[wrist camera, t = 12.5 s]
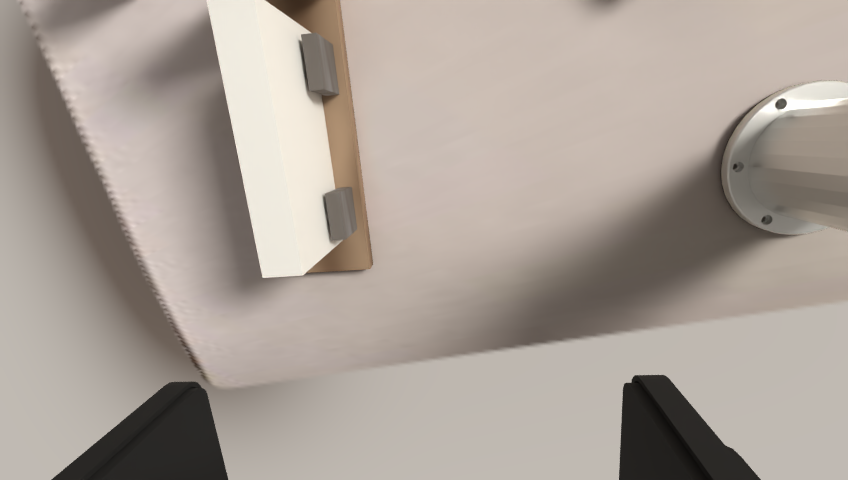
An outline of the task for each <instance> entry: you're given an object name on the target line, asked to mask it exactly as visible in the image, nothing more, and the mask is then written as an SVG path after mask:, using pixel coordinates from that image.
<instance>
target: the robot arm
mask: <svg viewBox="0 0 848 480" xmlns="http://www.w3.org/2000/svg"><path fill="white" fill-rule="evenodd" d="M733 165H734V167H733ZM721 177H722V186H723V189H724V193H725V196H726V198H727V200H728V202H729V204H730V205H731V207H732V208H733V210H734V211H735V212H736V213H737V214H738V215H739V216H740V217H741V218H742V219H744V220H745V221H747V222H748V223H749V224H751V225H753V226H756V227H758V228H760V229H763V230H766V231H770V232H774V233H777V234H786V235H800V234H809V233H813V232H818V231H822V230H824V229H827V228H829V227H831V228H835V229H840V230H844V231H848V82H843V81H838V80H820V81H813V82H806V83H801V84H798V85H794V86H791V87H787V88H785V89H783V90H781V91H779V92H776V93H774V94H772V95H771V96H769V97H768V98H766V99H765V100H763V101H762V102H760V103H759V104H757V105H756V106H755V107H754V108H753V109H752V110H751V111H750V112H749V113H748V114H747V115H746V116H745V117H744V118H743V119H742V121H741V122H740V123H739V124H738V126H737V127H736V128H735V130H734V132H733V134H732V136H731V137H730V139H729V141H728V143H727V146H726V149H725V152H724V155H723V160H722V168H721ZM621 426H622V427H621V448H620V449H621V450H620V470H619V480H761V479H760V478H759V477H758V476H757V475H756V474H755V473H754V471H753V470H752V469H751V468H750V467H749V466H748V464H747V463H746V462H745V461H744V460H743V459H742V457H741V456H739V455H738V453H736V452H735V451H734V450H733V449H732V448H730V447H727V446H725V445H724V444H723V443H722V441H721V440H720V439H719V438H718V436H717V435H716V434H715V433H714V432H713V431H712V429H711V428H710V427H709V426H708V425H707V423H706V422H705V421H704V420H703V419H702V418H701V416H700V415H699V414H698V413H697V412H696V410H695V409H694V408H693V407H692V406H691V404H690V403H689V402H688V401H687V400H686V398H685V397H684V396H683V395H682V394H681V392H680V391H679V390H678V389H677V388H676V387H675V385H674V384H673V383H672V382H671V381H670V379H669V378H668V377H666V376H664V375H635V376H634V377H633V379H632V383H625V384H624V387H623V403H622V425H621ZM52 480H228V477H227V473H226V469H225V465H224V461H223V456H222V453H221V448H220V444H219V441H218V436H217V432H216V429H215V424H214V420H213V416H212V412H211V408H210V404H209V400H208V396H207V393H206V391H205V390H204V389H203V388H201V386H200V385H199V384H198V383H197V382H171V383H168V384H167V385H165V386H164V387H163V388H161V389H160V390H159V391H158V392H157V393H156V394H154V395H153V396H152V397H151V398H149V399H148V400H147V401H146V402H145V403H143V404H142V405H141V406H140V407H139V408H137V409H136V410H135V411H134V412H133V413H131V414H130V415H129V416H128V417H126V419H124V420H123V421H122V422H120V424H118V425H117V426H116V427H114V428H113V429H112V430H111V431H110V432H108V433H107V434H106V435H105V436H104V437H102V438H101V439H100V440H99V441H98V442H96V443H95V444H94V445H93V446H91V447H90V448H89V449H88V450H87V451H86V452H84V453H83V454H82V455H81V456H79V457H78V458H77V459H76V460H75V461H73V462H72V463H71V464H70V465H69V466H67V467H66V468H65V469H64V470H63V471H61V472H60V473H59V474H58V475H57V476H55V477H54V478H53V479H52Z"/></svg>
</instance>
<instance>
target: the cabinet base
mask: <svg viewBox="0 0 848 480" xmlns="http://www.w3.org/2000/svg"><path fill="white" fill-rule="evenodd" d="M265 1H267V2H268V3H270V4H271V5H273V6H274V7H275V8H277V9H278V10H280V11H281V12H282V13H284V14H285V15H287V16H288V17H290V18H291V19H292V20H294V21H295V22H297V23H298V24H300V25H301V26H302V27H304V28H305V29H307V30H308V31H309V32H311V33H309V34H301V39H302V45H303V52H304V59H305V65H306V72H307V79H308V85H309V91H311V92H315V93H318V94H321V95H322V102H323V108H324V115H325V122H326V129H327V136H328V143H329V149H330V156H331V163H332V170H333V177H334V183H335V190H332V191H330V192H328V193H325V199H326V205H327V212H328V219H329V225H330V232H331V239H332V241H334V240H343V241H341V242H340V243H339V244H338V245H337V246H336V247H335V248H333V249H332V250H331V251H330V252H329V253H328V254H327V255H326V256H324V257H323V258H322V259H321V260H320V261H319V262H318V263H316V264H315V265H314V266H313V267H312V268H311V269H310V270H308V271H307V272H306V273H312V272H329V271H346V270H363V269H370V268H371V267H372V265H373V260H372V252H371V244H370V236H369V228H368V220H367V212H366V204H365V196H364V188H363V180H362V172H361V164H360V156H359V149H358V141H357V133H356V125H355V117H354V109H353V101H352V93H351V85H350V77H349V69H348V61H347V53H346V45H345V37H344V29H343V22H342V14H341V6H340V0H265Z"/></svg>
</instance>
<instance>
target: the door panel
mask: <svg viewBox="0 0 848 480" xmlns="http://www.w3.org/2000/svg"><path fill="white" fill-rule="evenodd" d="M207 5H208V10H209V15H210V20H211V25H212V30H213V35H214V40H215V45H216V50H217V55H218V59H219V64H220V69H221V74H222V79H223V84H224V89H225V94H226V99H227V104H228V109H229V114H230V119H231V124H232V129H233V134H234V139H235V144H236V149H237V154H238V159H239V164H240V169H241V174H242V178H243V183H244V188H245V193H246V198H247V203H248V208H249V213H250V218H251V223H252V228H253V233H254V238H255V243H256V248H257V253H258V258H259V263H260V268H261V273H262V278H270V277H286V276H303V275H304V274H305V273H306V272H307V271H308V270H310V269H311V268H312V267H313V266H314V265H315V264H316V263H318V262H319V261H320V260H321V259H322V258H323V257H324V256H326V255H327V254H328V253H329V252H330V251H331V250H332V249H333V248H335V247H336V246H337V245H338V244H339V243H340V242H341V241H343V240H334V241H332V239H331V232H330V225H329V219H328V212H327V205H326V199H325V193H328V192H330V191H332V190H335V183H334V177H333V170H332V163H331V156H330V149H329V143H328V136H327V129H326V122H325V115H324V108H323V102H322V95H321V94H318V93H315V92H311V91H309V85H308V79H307V72H306V65H305V59H304V52H303V45H302V39H301V34H309V33H311V32H309V31H308V30H307V29H305V28H304V27H302V26H301V25H300V24H298V23H297V22H295V21H294V20H292V19H291V18H290V17H288V16H287V15H285V14H284V13H282V12H281V11H280V10H278V9H277V8H275V7H274V6H273V5H271V4H270V3H268V2H267V1H265V0H207Z"/></svg>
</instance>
